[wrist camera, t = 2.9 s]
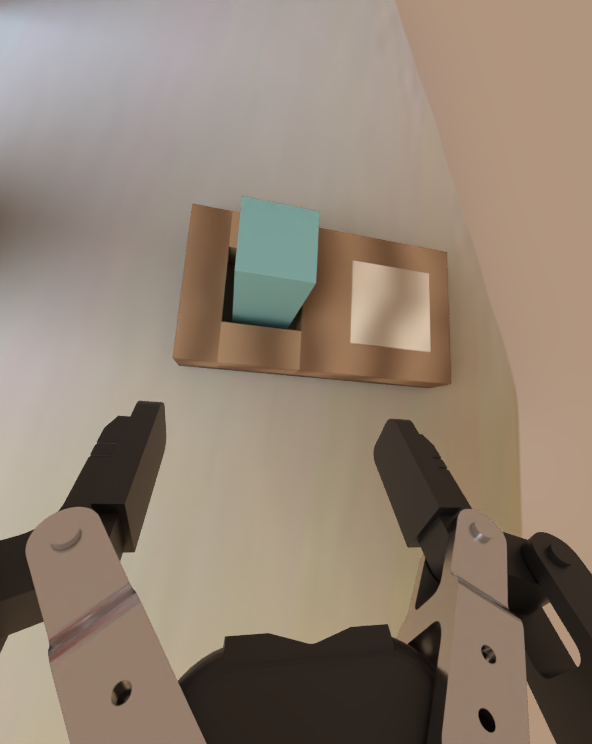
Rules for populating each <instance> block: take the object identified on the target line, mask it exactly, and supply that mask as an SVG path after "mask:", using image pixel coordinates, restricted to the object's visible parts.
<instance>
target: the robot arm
mask: <svg viewBox="0 0 592 744" xmlns="http://www.w3.org/2000/svg"><path fill="white" fill-rule="evenodd" d="M165 445H166V422H165V406H164V403H163V402H149V401H138V402H137V404H136V406H135V408H134V410H133V412H132V415H131V417H128V416H118V417H116V418H115V419H114V420H113V421H112V422H111V423H109V424H108V425H107V426H106V427H105V428H104V430H103V431H102V433H101V435H100V437H99V439H98V441H97V444H96V445H95V446H94V448H93V450H92V452H91V456H90V457H89V458H88V460H87V461H86V463H85V465H84V467H83V469H82V471H81V473H80V475H79V476H78V478H77V480H76V482H75V484H74V486H73V488H72V490H71V491H70V493H69V495H68V497H67V499H66V501H65V503H64V504H63V506H62V507H61V508H60V510H59V511H58V512H56V513H55V514H53V515H51V516H49V517H48V518H46V519H45V520H44V521H43V522H41V523H40V524H39V525H38V526H37V527H36V528H35V529H34V530H32V531H29V532H27V533H25V534H22V535H18V536H15V537H11V538H8V539H4V540H0V652H1V650H2V648H3V646H4V644H5V641H6V639H7V637H8V635H10V634H12V633H15V632H18V631H20V630H23V629H25V628H28V627H31V626H33V625H36V624H38V623H41V622H44V624H45V628H46V631H47V635H48V639H49V646H50V647H49V649H48V656H49V663H50V667H51V672H52V676H53V679H54V683H55V687H56V691H57V695H58V699H59V702H60V706H61V710H62V714H63V718H64V722H65V725H66V729H67V733H68V737H69V741H70V744H530V737H529V718H528V700H527V682H528V684H529V686H530V689H531V691H532V693H533V695H534V697H535V699H536V701H537V703H538V705H539V708H540V709H541V712H542V714H543V716H544V718H545V720H546V722H547V724H548V727H549V729H550V731H551V733H552V735H553V737H554V739H555V741H556V743H557V744H592V574H591V573H590V571H589V570H588V569H587V568H586V566H585V565H584V563H583V562H582V561H581V560H580V558H579V557H578V555H577V554H576V553H575V552H574V551H573V550H572V549H571V548H570V547H569V546H568V545H567V544H566V543H564V542H563V541H562V540H560V539H558V538H557V537H555V536H553V535H551V534H548V533H544V532H538V533H536V534H534V535H533V536H532V537H531V538H530V539H528V540H526V539H523V538H520V537H517V536H514V535H511V534H508V533H505V532H502V531H501V529H500V528H499V527H498V525H497V524H496V523H495V522H494V521H493V520H492V519H491V518H489V517H488V516H487V515H485V514H483V513H481V512H479V511H477V510H473V509H472V508H471V506H470V505H469V503H468V501H467V500H466V498H465V496H464V495H463V493H462V491H461V490H460V488H459V487H458V485H457V483H456V482H455V480H454V478H453V477H452V475H451V473H450V472H449V470H447V467H446V465H445V463H444V462H443V460H441V457H440V455H439V453H438V452H437V450H436V449H435V447H434V445H433V444H432V443H431V442H430V441H429V440H427V439H426V438H425V437H424V436H423V435H421V434H419V433H418V431H417V430H416V428H415V426H414V424H413V423H412V422H411V421H410V420H401V419H389V420H388V421H387V422H386V424H385V426H384V428H383V430H382V432H381V434H380V436H379V438H378V440H377V442H376V444H375V447H374V461H375V464H376V466H377V469H378V471H379V474H380V477H381V479H382V482H383V484H384V487H385V490H386V492H387V495H388V497H389V500H390V503H391V505H392V508H393V510H394V513H395V516H396V518H397V521H398V523H399V526H400V528H401V531H402V534H403V536H404V539H405V541H406V544H407V547H421V548H422V551H423V553H424V554H423V555H422V557H421V559H420V562H419V567H418V571H417V576H416V580H415V584H414V589H413V593H412V597H411V602H410V606H409V610H408V614H407V616H406V619H405V621H404V622H403V624H402V626H401V628H400V630H399V633H398V636H397V639H396V638H393V637H391V634H390V630H389V627H388V624H385V625H372V626H359V627H350V628H348V629H346V630H344V631H341V632H339V633H337V634H335V635H333V636H331V637H329V638H326V639H324V640H322V641H320V642H318V643H315V644H307V643H303V642H300V641H296V640H292V639H288V638H284V637H280V636H277V635H273V634H269V633H266V634H253V635H240V636H227V637H225V640H224V645H223V648H221V649H219V650H217V651H214V652H212V653H211V654H209V655H207V656H206V657H204V658H202V659H201V660H200V661H198V662H197V663H196V664H195V665H193V666H192V667H191V668H190V669H189V670H188V671H187V672H186V673H185V674H184V675H183V676H182V677H181V678H180V679H179V680H178V681H177V679H176V677H175V674H174V672H173V670H172V668H171V666H170V664H169V661H168V659H167V657H166V655H165V653H164V651H163V648H162V646H161V644H160V642H159V640H158V638H157V635H156V633H155V631H154V629H153V627H152V625H151V622H150V620H149V618H148V616H147V614H146V612H145V609H144V607H143V605H142V603H141V601H140V599H139V597H138V595H137V593H136V592H135V590H134V589H133V588H132V586H131V585H130V583H129V580H128V578H127V576H126V574H125V572H124V569H123V567H122V565H121V563H120V560H121V557H122V554H123V552H135V549H136V546H137V543H138V539H139V536H140V532H141V529H142V526H143V522H144V519H145V515H146V512H147V509H148V505H149V502H150V498H151V495H152V492H153V488H154V485H155V481H156V478H157V475H158V471H159V468H160V465H161V461H162V458H163V454H164V450H165ZM549 602H550V603H551V604H552V606H553V608H554V609H555V611H556V613H557V614H558V616H559V617H560V619H561V621H562V622H563V624H564V626H565V627H566V629H567V631H568V632H569V634H570V635H571V637H572V639H573V640H574V642H575V644H576V646H577V647H578V650H579V653H580V657H581V663H580V666H579V667H577V666H576V665H575V663H574V661H573V660H572V658H571V656H570V655H569V653H568V651H567V649H566V648H565V646H564V644H563V642H562V641H561V639H560V638H559V636H558V634H557V632H556V631H555V629H554V627H553V626H552V624H551V622H550V620H549V618H548V617H547V615H546V613H545V612H544V610H543V608H542V607H543V606H544V605H546V604H548V603H549ZM526 680H527V681H526Z"/></svg>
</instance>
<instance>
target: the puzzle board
mask: <svg viewBox="0 0 592 744" xmlns="http://www.w3.org/2000/svg"><path fill="white" fill-rule="evenodd" d="M239 221H240V213H239V212H233V211H228V210H223V209H218V208H212V207H207V206H202V205H197V204H192V211H191V219H190V227H189V235H188V242H187V250H186V258H185V266H184V273H183V281H182V289H181V297H180V305H179V312H178V320H177V328H176V336H175V343H174V351H173V359H174V360H175V361H176V362H177V363H178V365H180V366H191V367H202V368H213V369H224V370H235V371H246V372H257V373H268V374H279V375H290V376H301V377H312V378H323V379H334V380H346V381H357V382H368V383H379V384H390V385H401V386H412V387H423V388H432V387H437V386H443V385H448V384H451V365H450V334H449V304H448V273H447V252H443V251H437V250H432V249H427V248H422V247H416V246H411V245H406V244H401V243H396V242H390V241H385V240H380V239H375V238H369V237H364V236H359V235H354V234H348V233H343V232H338V231H333V230H328V229H322V228H319V232H318V253H317V274H316V284H315V286H314V287H313V289H312V290H311V292H310V294H309V295H308V297H307V298H306V300H305V301H304V303H303V305H302V306H301V308H300V309H299V311H298V313H297V314H296V316H295V317H294V319H293V321H292V322H291V324H290V325H289V327H288V328H287V329H279V328H270V327H262V326H254V325H246V324H237V323H232V318H233V296H234V275H235V262H236V252H237V242H238V232H239Z"/></svg>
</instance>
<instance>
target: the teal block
mask: <svg viewBox="0 0 592 744" xmlns="http://www.w3.org/2000/svg"><path fill="white" fill-rule="evenodd" d="M318 232H319V211H314V210H309V209H304V208H299V207H294V206H289V205H284V204H279V203H274V202H270V201H265V200H260V199H255V198H250V197H245V196H242V201H241V211H240V221H239V232H238V242H237V252H236V262H235V275H234V296H233V318H232V323H237V324H246V325H254V326H262V327H270V328H279V329H287V328H288V327H289V325H290V324H291V322H292V321H293V319H294V317H295V316H296V314H297V313H298V311H299V309H300V308H301V306H302V305H303V303H304V301H305V300H306V298H307V297H308V295H309V294H310V292H311V290H312V289H313V287H314V286H315V284H316V274H317V253H318Z"/></svg>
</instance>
